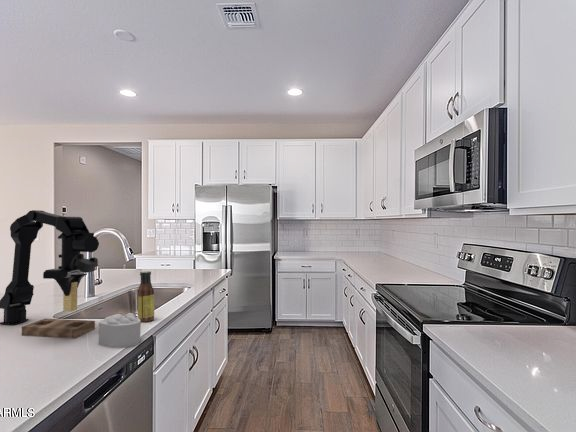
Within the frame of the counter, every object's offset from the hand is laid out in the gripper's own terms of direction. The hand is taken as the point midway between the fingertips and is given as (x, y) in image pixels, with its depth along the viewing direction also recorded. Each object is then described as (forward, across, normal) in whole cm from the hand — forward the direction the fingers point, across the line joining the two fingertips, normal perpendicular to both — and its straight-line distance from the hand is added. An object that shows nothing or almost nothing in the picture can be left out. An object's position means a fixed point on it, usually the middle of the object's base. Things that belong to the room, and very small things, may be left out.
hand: (70, 294), depth 122 cm
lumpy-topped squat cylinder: (+14, -6, -23) cm, 27 cm away
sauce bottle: (+14, +18, -19) cm, 30 cm away
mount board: (+14, 0, +4) cm, 14 cm away
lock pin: (+6, 0, 0) cm, 6 cm away
